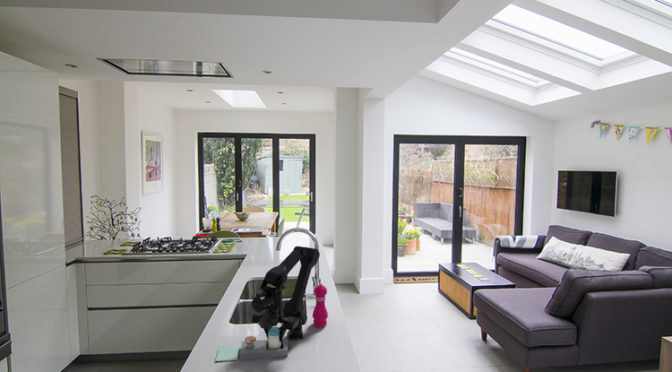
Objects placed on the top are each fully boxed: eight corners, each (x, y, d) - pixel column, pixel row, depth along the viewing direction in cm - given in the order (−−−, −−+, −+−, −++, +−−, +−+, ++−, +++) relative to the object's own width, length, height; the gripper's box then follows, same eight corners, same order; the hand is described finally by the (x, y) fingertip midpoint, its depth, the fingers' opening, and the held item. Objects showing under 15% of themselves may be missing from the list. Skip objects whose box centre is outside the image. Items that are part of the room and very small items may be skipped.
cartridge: (265, 350, 139) (265, 331, 139) (272, 344, 144) (272, 325, 143) (276, 353, 137) (276, 333, 137) (283, 347, 142) (283, 328, 141)
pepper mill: (310, 322, 166) (310, 280, 164) (324, 319, 169) (325, 279, 167) (315, 329, 159) (316, 286, 158) (330, 326, 162) (330, 284, 161)
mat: (219, 349, 141) (219, 348, 141) (239, 347, 143) (239, 346, 143) (215, 362, 132) (215, 360, 132) (237, 360, 134) (237, 359, 134)
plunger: (245, 350, 141) (244, 336, 140) (256, 349, 142) (256, 335, 141) (244, 356, 136) (244, 342, 136) (255, 355, 137) (255, 341, 137)
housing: (242, 347, 143) (242, 341, 143) (286, 344, 146) (286, 338, 146) (240, 360, 134) (240, 353, 134) (287, 356, 137) (287, 350, 137)
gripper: (242, 306, 135) (242, 345, 136) (286, 314, 128) (286, 355, 130) (258, 296, 145) (258, 332, 146) (299, 303, 139) (299, 341, 140)
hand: (274, 340), depth 140 cm, fingers closed on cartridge, 5 cm apart
